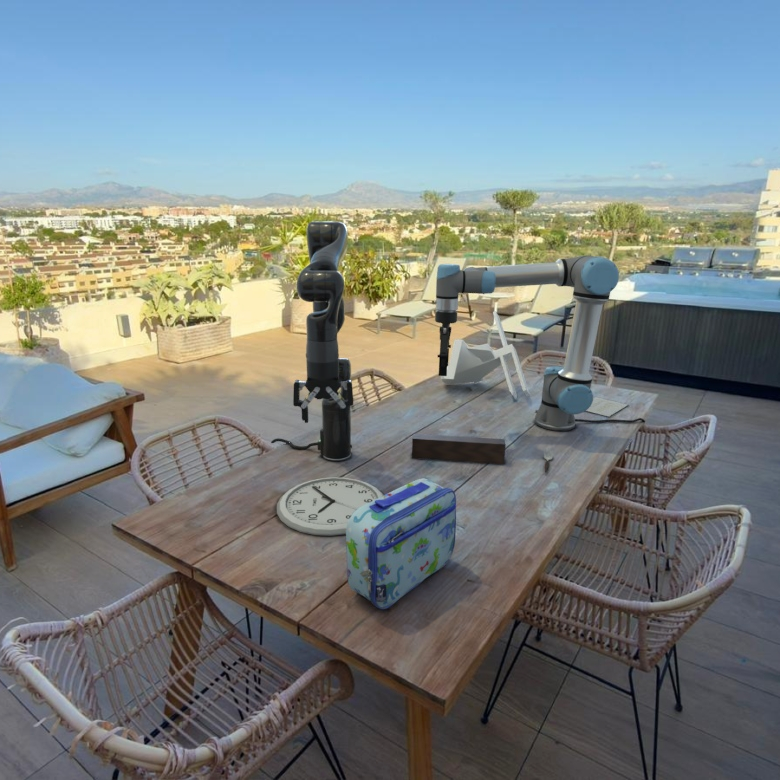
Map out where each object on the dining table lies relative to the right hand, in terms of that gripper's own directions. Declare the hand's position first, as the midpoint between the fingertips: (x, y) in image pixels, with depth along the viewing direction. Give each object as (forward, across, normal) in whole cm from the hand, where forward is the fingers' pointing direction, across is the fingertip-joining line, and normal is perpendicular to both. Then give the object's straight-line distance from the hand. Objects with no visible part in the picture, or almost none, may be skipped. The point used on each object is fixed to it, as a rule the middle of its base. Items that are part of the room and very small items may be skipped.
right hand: (443, 370), depth 185 cm
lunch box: (+25, +84, -4) cm, 88 cm away
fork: (+25, +18, +36) cm, 47 cm away
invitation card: (+25, -46, +67) cm, 85 cm away
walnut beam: (+25, +19, +7) cm, 32 cm away
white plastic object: (+25, -56, +15) cm, 63 cm away
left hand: (-3, +63, -26) cm, 69 cm away
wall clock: (+25, +56, -26) cm, 67 cm away
